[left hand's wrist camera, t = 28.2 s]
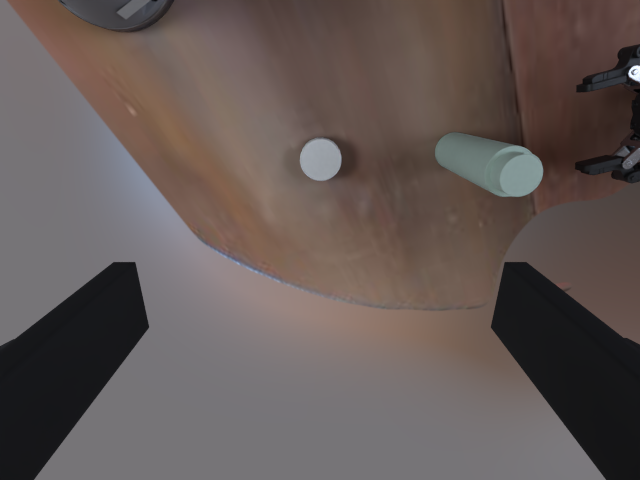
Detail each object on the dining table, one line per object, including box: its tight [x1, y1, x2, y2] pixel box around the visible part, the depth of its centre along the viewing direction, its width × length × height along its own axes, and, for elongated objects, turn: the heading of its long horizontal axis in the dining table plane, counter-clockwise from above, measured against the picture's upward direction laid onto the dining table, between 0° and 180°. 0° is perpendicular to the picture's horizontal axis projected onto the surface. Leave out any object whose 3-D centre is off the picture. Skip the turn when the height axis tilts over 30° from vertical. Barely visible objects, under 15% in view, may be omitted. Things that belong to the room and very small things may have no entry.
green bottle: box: [435, 132, 543, 197], centre depth 38 cm, size 5×5×17 cm
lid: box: [300, 137, 342, 181], centre depth 45 cm, size 5×5×2 cm
